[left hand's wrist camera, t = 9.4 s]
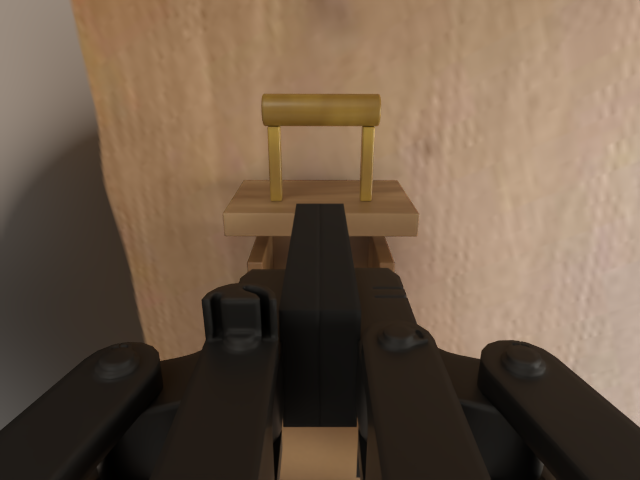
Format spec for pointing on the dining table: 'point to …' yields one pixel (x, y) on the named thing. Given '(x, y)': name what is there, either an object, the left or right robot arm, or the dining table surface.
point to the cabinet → (319, 453)
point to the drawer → (321, 186)
